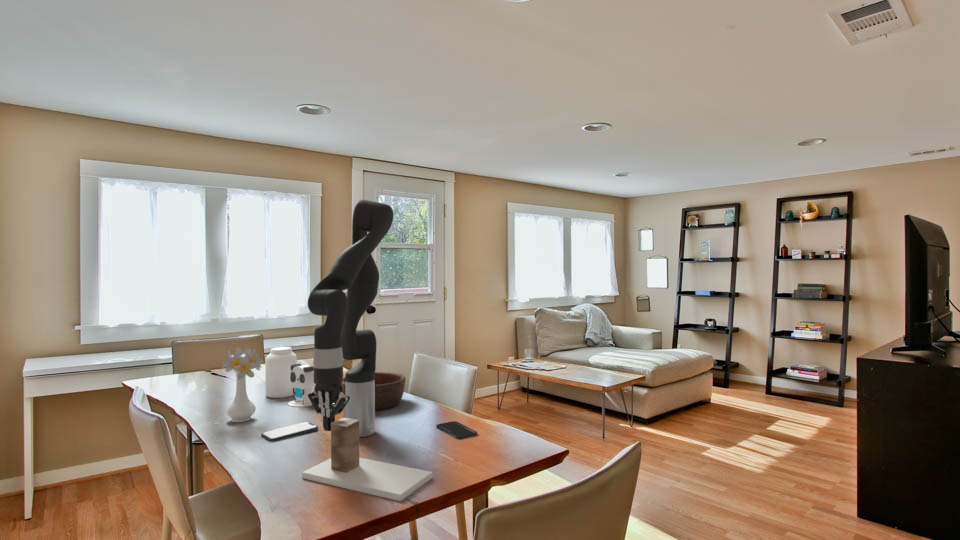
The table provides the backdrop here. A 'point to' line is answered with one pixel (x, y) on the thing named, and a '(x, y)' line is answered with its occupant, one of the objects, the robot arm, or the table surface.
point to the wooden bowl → (386, 389)
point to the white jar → (279, 372)
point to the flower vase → (241, 383)
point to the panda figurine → (301, 384)
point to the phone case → (289, 431)
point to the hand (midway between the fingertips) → (328, 430)
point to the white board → (372, 478)
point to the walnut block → (344, 444)
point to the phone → (456, 430)
